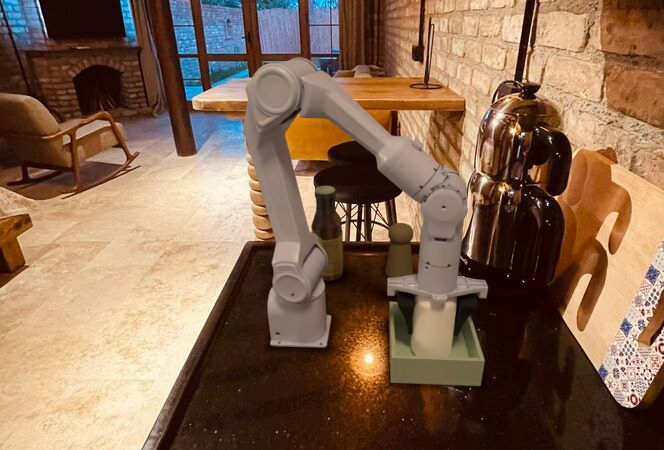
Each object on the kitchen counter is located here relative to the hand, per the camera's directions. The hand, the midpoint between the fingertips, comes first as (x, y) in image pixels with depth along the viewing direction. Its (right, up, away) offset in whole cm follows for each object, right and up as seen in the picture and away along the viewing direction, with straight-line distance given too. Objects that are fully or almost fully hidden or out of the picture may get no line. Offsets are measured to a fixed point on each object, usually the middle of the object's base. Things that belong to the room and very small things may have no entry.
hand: (432, 330), depth 64 cm
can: (0, -4, +2) cm, 4 cm away
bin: (0, -4, +2) cm, 4 cm away
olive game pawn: (-2, +7, +24) cm, 25 cm away
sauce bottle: (-18, +6, +23) cm, 29 cm away
